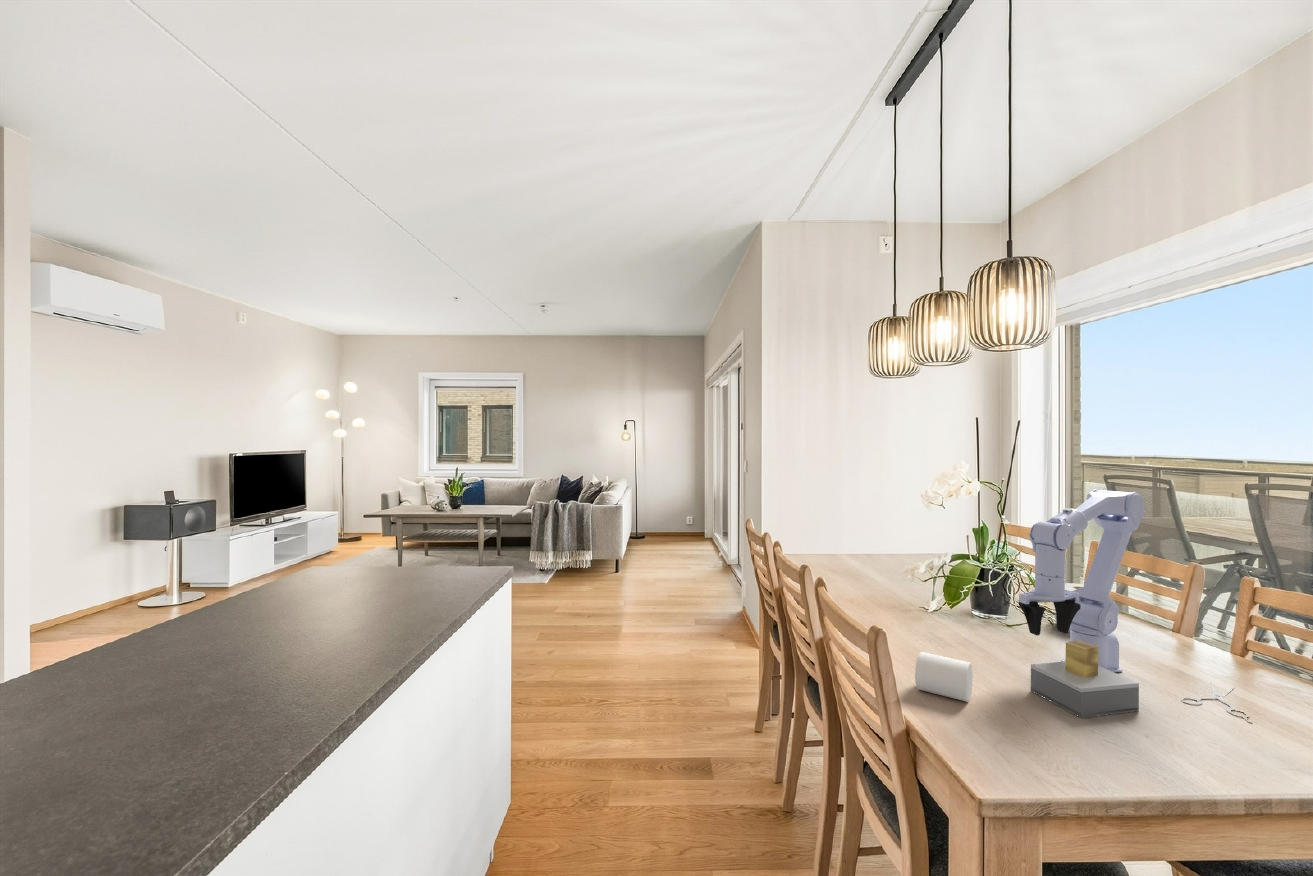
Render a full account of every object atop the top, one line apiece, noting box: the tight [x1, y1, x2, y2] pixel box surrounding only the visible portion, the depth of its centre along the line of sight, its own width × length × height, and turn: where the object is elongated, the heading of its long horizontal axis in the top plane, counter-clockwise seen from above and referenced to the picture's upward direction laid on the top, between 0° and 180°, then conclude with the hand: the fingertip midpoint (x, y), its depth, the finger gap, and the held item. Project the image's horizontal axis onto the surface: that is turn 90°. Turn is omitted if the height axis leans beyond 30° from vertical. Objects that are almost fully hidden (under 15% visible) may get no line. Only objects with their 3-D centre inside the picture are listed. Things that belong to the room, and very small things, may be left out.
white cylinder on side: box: [914, 651, 974, 703], centre depth 126 cm, size 12×10×8 cm
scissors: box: [1180, 681, 1253, 724], centre depth 122 cm, size 11×1×20 cm
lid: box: [1030, 661, 1140, 693], centre depth 121 cm, size 14×12×1 cm
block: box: [1065, 640, 1098, 678], centre depth 121 cm, size 4×4×6 cm
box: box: [1030, 667, 1140, 719], centre depth 121 cm, size 14×12×5 cm
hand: (1048, 633), depth 132 cm, fingers open, 7 cm apart
